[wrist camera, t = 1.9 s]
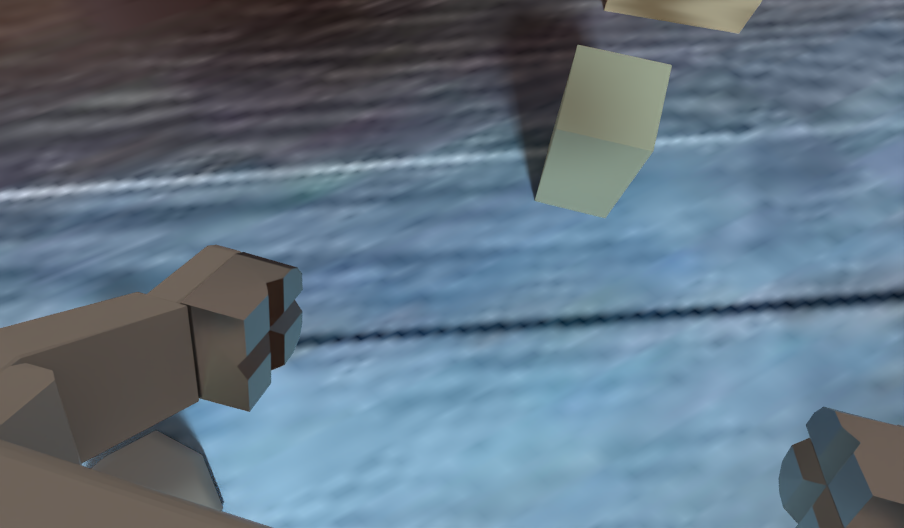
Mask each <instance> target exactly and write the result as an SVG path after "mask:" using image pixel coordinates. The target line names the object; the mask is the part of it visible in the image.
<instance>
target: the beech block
mask: <svg viewBox="0 0 904 528" xmlns="http://www.w3.org/2000/svg"><path fill="white" fill-rule="evenodd" d="M762 1H763V0H606V4H605V9H604V11H610V12H615V13H621V14H627V15H633V16H639V17H645V18H651V19H657V20H662V21H668V22H674V23H680V24H686V25H692V26H698V27H704V28H709V29H715V30H721V31H727V32H733V33H740V31H741V30H742V28H743V27H744V26H745V24H746V23H747V21H748V20H749V19H750V17H751V16H752V14H753V13H754V12H755V10H756V9H757V7H758V6H759V5H760V3H761V2H762Z"/></svg>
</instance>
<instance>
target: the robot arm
mask: <svg viewBox="0 0 904 528" xmlns="http://www.w3.org/2000/svg"><path fill="white" fill-rule="evenodd" d="M302 290H303V287H302V273H301V271H300V270H299V269H298V268H297V267H294V266H290V265H287V264H283V263H280V262H276V261H273V260H269V259H266V258H262V257H259V256H255V255H252V254H248V253H245V252H240V251H237V250H234V249H230V248H226V247H222V246H219V245H210V246H207V247H205V248H204V249H203V250H202V251H200V252H199V253H198V254H197V255H195V256H194V257H193V258H192V259H190V260H189V261H188V262H187V263H185V264H184V265H183V266H181V267H180V268H179V269H178V270H176V271H175V272H174V273H173V274H171V275H170V276H169V277H168V278H166V279H165V280H164V281H163V282H161V283H160V284H159V285H158V286H156V287H155V288H154V289H153V290H151V291H150V292H149V293H148V294H143V293H139V292H136V293H132V294H128V295H124V296H121V297H117V298H113V299H109V300H106V301H102V302H98V303H94V304H90V305H87V306H83V307H79V308H75V309H72V310H68V311H64V312H60V313H56V314H53V315H49V316H45V317H41V318H38V319H34V320H30V321H26V322H23V323H19V324H15V325H11V326H7V327H4V328H0V528H272V527H269V526H266V525H263V524H260V523H257V522H254V521H251V520H248V519H244V518H241V517H238V516H235V515H232V514H229V513H226V512H223V511H220V510H217V509H214V508H211V507H207V506H204V505H201V504H198V503H195V502H192V501H189V500H186V499H183V498H180V497H177V496H174V495H170V494H167V493H164V492H161V491H158V490H155V489H152V488H149V487H146V486H143V485H140V484H137V483H134V482H130V481H127V480H124V479H121V478H118V477H115V476H112V475H109V474H106V473H103V472H100V471H97V470H93V469H90V468H87V467H84V466H82V463H83V462H85V461H87V460H89V459H91V458H93V457H95V456H97V455H98V454H100V453H102V452H104V451H106V450H108V449H110V448H112V447H113V446H115V445H117V444H119V443H121V442H123V441H125V440H127V439H129V438H130V437H132V436H134V435H136V434H138V433H140V432H142V431H144V430H145V429H147V428H149V427H151V426H153V425H155V424H157V423H159V422H161V421H162V420H164V419H166V418H168V417H170V416H172V415H174V414H176V413H178V412H179V411H181V410H183V409H185V408H187V407H189V406H191V405H193V404H194V403H196V402H198V401H199V398H200V399H204V400H208V401H211V402H215V403H219V404H223V405H226V406H230V407H234V408H237V409H241V410H245V411H249V412H250V411H251V409H252V408H253V407H254V405H255V404H256V403H257V401H258V400H259V399H260V397H261V396H262V395H263V393H264V392H265V391H266V389H267V388H268V387H269V385H270V384H271V370H273V369H276V368H278V367H281V366H283V365H285V364H286V362H287V361H288V359H289V358H290V357H291V355H292V354H293V352H294V349H295V347H296V345H297V342H298V340H299V337H300V333H301V327H302V310H301V309H300V307H299V306H298V304H297V303H296V301H295V299H296V297H297V296H298V295H299V294H300V293H301V291H302ZM806 427H807V431H808V434H809V437H810V438H808V439H806V440H803V441H801V442H799V443H796V444H794V445H792V446H791V448H790V449H789V451H788V452H787V454H786V456H785V457H784V459H783V461H782V465H781V469H780V474H779V494H780V497H781V501H782V505H783V508H784V509H785V510H786V511H787V512H788V513H789V514H790V516H791V517H792V518H793V519H794V520H795V521H796V522H797V523H798V525H797V526H796V528H904V426H902V425H893V424H889V423H885V422H881V421H877V420H873V419H869V418H866V417H862V416H858V415H854V414H850V413H846V412H842V411H838V410H835V409H831V408H827V407H822V408H821V409H819V410H818V411H816V412H815V413H814V414H813V415H812V417H811V418H810V420H809V421H808V422H807V424H806Z"/></svg>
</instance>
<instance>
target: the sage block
mask: <svg viewBox="0 0 904 528" xmlns="http://www.w3.org/2000/svg"><path fill="white" fill-rule="evenodd" d="M671 67H672V65H669V64H664V63H660V62H655V61H650V60H646V59H641V58H637V57H632V56H627V55H623V54H618V53H614V52H609V51H605V50H600V49H595V48H591V47H586V46H582V45H577V49H576V52H575V56H574V59H573V63H572V66H571V70H570V73H569V77H568V80H567V84H566V87H565V91H564V94H563V98H562V101H561V105H560V108H559V112H558V115H557V119H556V122H555V126H554V129H553V133H552V136H551V140H550V144H549V148H548V151H547V155H546V159H545V163H544V167H543V171H542V175H541V179H540V182H539V186H538V190H537V194H536V198H535V201H537V202H541V203H545V204H549V205H553V206H557V207H561V208H565V209H570V210H574V211H578V212H582V213H586V214H590V215H594V216H598V217H602V218H606V217H607V215H608V214H609V212H610V211H611V210H612V208H613V207H614V205H615V204H616V203H617V201H618V200H619V198H620V197H621V196H622V194H623V193H624V191H625V190H626V189H627V187H628V186H629V184H630V183H631V182H632V180H633V179H634V177H635V176H636V175H637V173H638V172H639V170H640V169H641V168H642V166H643V165H644V163H645V162H646V161H647V159H648V158H649V157H650V155H651V154H652V152H653V150H654V145H655V141H656V136H657V131H658V127H659V122H660V117H661V113H662V108H663V104H664V99H665V94H666V90H667V85H668V81H669V76H670V71H671Z"/></svg>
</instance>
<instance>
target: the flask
mask: <svg viewBox="0 0 904 528" xmlns="http://www.w3.org/2000/svg"><path fill="white" fill-rule="evenodd" d="M91 469H93V470H97V471H100V472H103V473H106V474H109V475H112V476H115V477H118V478H121V479H124V480H127V481H130V482H134V483H137V484H140V485H143V486H146V487H149V488H152V489H155V490H158V491H161V492H164V493H167V494H170V495H174V496H177V497H180V498H183V499H186V500H189V501H192V502H195V503H198V504H201V505H204V506H207V507H211V508H214V509H217V510H220V511H222V509H223V506H222V504H221V501H220V498H219V496H218V493H217V491H216V488H215V486H214V483H213V481H212V478H211V476H210V473H209V471H208V468H207V466H206V463H205V461H204V458H203V456H202V455H201V454H199V453H198V452H196V451H194V450H192V449H190V448H188V447H186V446H185V445H183V444H181V443H179V442H177V441H175V440H174V439H172V438H170V437H168V436H166V435H164V434H162V433H161V432H159V431H157V430H155V431H153V432H151V433H149V434H148V435H146V436H144V437H142V438H140V439H138V440H136V441H134V442H132V443H130V444H128V445H126V446H124V447H122V448H121V449H119V450H117V451H115V452H113V453H111V454H109V455H107V456H105V457H104V458H103V459H101V460H100V461H99V462H98V463H97V464H95V465H94V466H93V467H92V468H91Z"/></svg>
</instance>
